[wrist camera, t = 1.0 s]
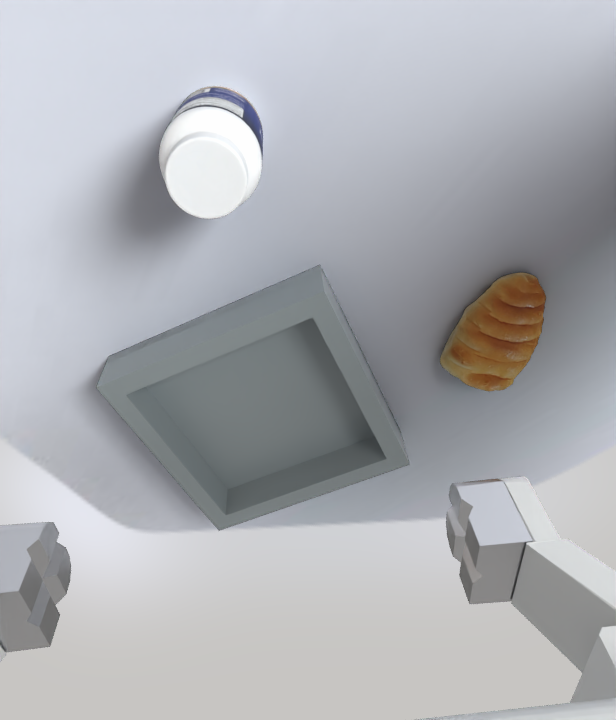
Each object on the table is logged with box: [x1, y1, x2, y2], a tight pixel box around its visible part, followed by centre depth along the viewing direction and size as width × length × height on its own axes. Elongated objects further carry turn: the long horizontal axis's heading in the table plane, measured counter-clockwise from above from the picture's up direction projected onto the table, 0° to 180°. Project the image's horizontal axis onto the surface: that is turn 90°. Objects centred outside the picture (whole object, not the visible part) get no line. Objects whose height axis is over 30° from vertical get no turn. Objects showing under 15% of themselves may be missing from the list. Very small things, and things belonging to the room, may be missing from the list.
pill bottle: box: [159, 86, 263, 219], centre depth 32 cm, size 5×5×10 cm
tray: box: [96, 265, 410, 531], centre depth 46 cm, size 18×18×4 cm
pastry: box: [440, 272, 546, 391], centre depth 43 cm, size 9×7×4 cm
